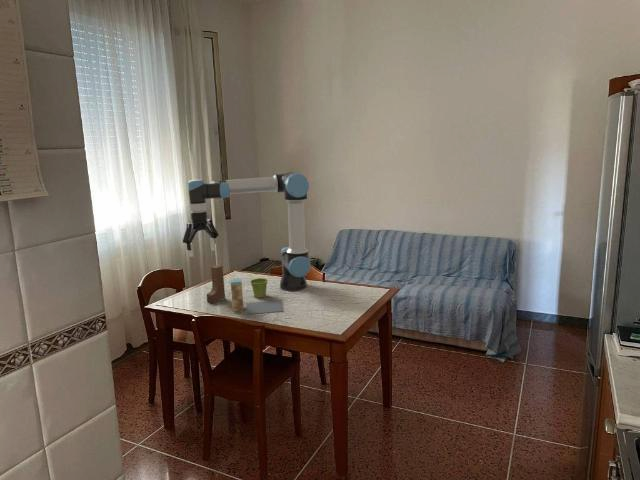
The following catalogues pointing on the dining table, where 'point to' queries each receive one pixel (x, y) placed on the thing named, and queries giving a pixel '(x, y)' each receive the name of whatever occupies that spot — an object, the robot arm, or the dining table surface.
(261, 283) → the plant pot
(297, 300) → the dining table surface
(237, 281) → the tan jar with lid
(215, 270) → the brown boot
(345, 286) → the dining table surface
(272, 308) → the mat
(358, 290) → the dining table surface
